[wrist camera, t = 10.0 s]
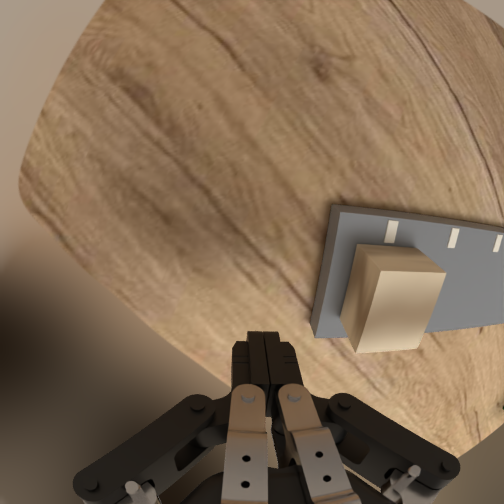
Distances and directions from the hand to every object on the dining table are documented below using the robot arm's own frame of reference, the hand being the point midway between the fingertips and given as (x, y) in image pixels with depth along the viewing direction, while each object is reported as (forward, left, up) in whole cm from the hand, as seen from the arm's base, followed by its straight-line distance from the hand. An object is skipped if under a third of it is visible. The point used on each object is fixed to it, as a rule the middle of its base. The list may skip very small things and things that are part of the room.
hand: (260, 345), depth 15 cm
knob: (0, +9, -6) cm, 11 cm away
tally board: (0, +18, -9) cm, 20 cm away
